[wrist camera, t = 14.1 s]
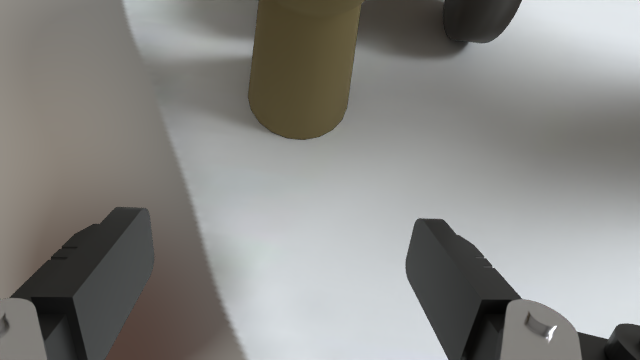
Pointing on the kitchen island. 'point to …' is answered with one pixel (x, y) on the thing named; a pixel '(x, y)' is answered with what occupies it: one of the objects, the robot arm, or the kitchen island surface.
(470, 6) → the trolley
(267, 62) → the cork
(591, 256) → the kitchen island surface
